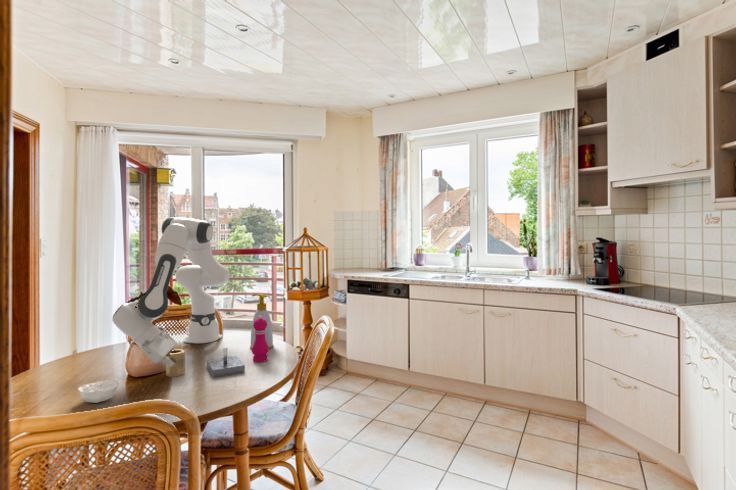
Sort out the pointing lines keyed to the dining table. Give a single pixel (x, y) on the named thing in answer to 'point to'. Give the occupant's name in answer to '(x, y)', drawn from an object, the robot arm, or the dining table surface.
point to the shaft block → (225, 365)
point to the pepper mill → (260, 340)
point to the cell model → (98, 391)
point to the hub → (176, 363)
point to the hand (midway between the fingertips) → (176, 361)
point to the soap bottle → (265, 315)
